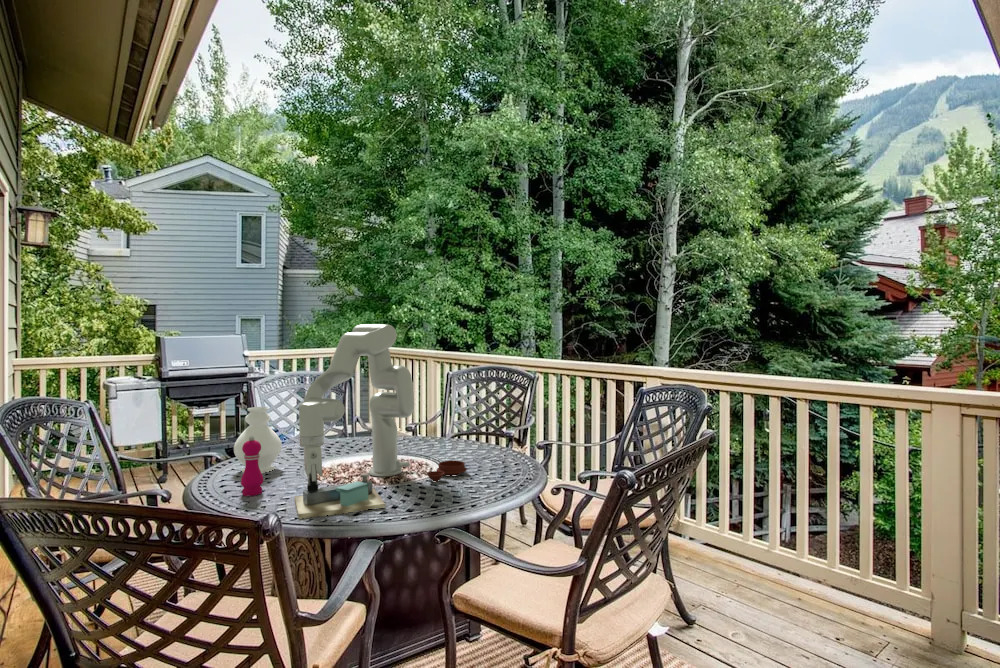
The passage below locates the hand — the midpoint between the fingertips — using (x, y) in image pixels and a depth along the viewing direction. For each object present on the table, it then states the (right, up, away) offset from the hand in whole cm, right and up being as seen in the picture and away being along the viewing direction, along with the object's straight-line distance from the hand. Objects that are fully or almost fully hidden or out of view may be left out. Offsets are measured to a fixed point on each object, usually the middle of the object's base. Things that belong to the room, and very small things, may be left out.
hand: (312, 496), depth 193 cm
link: (+8, -1, +1) cm, 9 cm away
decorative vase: (-36, -2, +45) cm, 58 cm away
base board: (+9, -2, -1) cm, 9 cm away
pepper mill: (-25, -3, +12) cm, 28 cm away
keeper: (+13, -1, -3) cm, 14 cm away
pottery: (+40, -2, +33) cm, 52 cm away
